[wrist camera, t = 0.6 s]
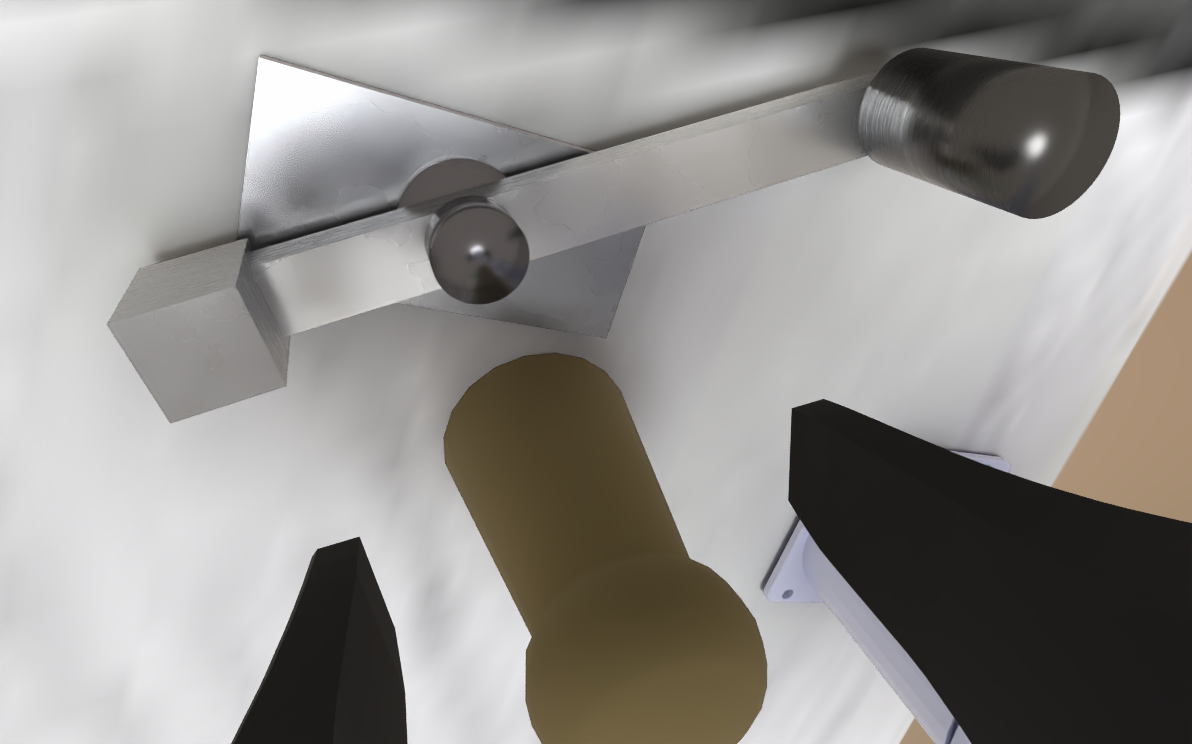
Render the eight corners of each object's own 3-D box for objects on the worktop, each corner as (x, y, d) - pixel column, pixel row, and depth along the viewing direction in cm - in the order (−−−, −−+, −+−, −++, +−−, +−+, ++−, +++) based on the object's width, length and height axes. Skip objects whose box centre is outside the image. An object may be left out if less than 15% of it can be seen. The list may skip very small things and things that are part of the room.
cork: (454, 348, 21) (559, 652, 12) (645, 356, 23) (856, 616, 14) (433, 516, 23) (505, 871, 14) (606, 508, 26) (763, 811, 17)
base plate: (655, 168, 20) (666, 175, 19) (599, 329, 22) (608, 341, 21) (260, 54, 16) (258, 58, 15) (234, 266, 18) (231, 278, 17)
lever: (197, 367, 18) (149, 527, 13) (132, 256, 16) (48, 389, 11) (921, 141, 21) (1104, 197, 16) (928, 31, 20) (1134, 55, 15)
